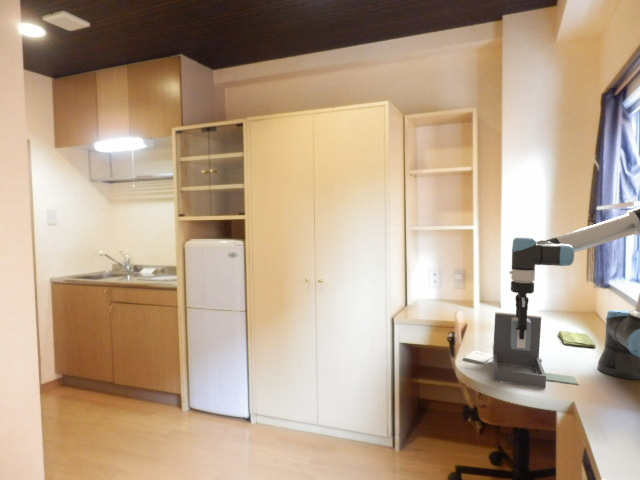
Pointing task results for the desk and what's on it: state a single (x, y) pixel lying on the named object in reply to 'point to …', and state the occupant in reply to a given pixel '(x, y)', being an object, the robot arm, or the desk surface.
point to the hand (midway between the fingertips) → (520, 344)
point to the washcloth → (576, 339)
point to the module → (514, 334)
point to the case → (517, 353)
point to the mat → (561, 378)
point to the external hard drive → (478, 357)
